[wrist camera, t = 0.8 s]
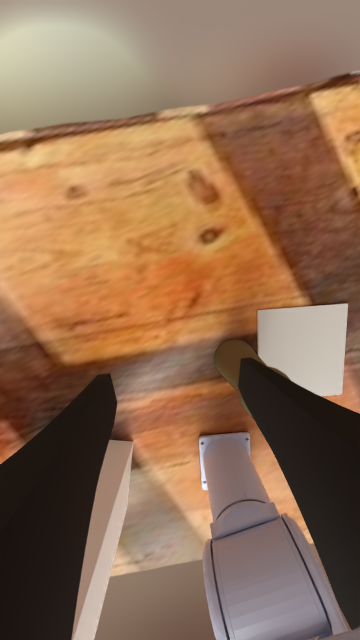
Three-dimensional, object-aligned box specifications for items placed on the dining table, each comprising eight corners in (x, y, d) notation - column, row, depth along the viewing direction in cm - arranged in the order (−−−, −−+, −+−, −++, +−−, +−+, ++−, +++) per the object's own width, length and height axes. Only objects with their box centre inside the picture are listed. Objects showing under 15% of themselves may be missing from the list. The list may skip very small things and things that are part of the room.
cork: (249, 334, 26) (305, 363, 15) (257, 372, 27) (315, 426, 16) (209, 344, 26) (235, 381, 15) (218, 382, 27) (249, 443, 16)
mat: (340, 393, 28) (341, 394, 27) (257, 400, 27) (258, 401, 27) (346, 303, 26) (347, 303, 25) (257, 310, 25) (258, 310, 25)
